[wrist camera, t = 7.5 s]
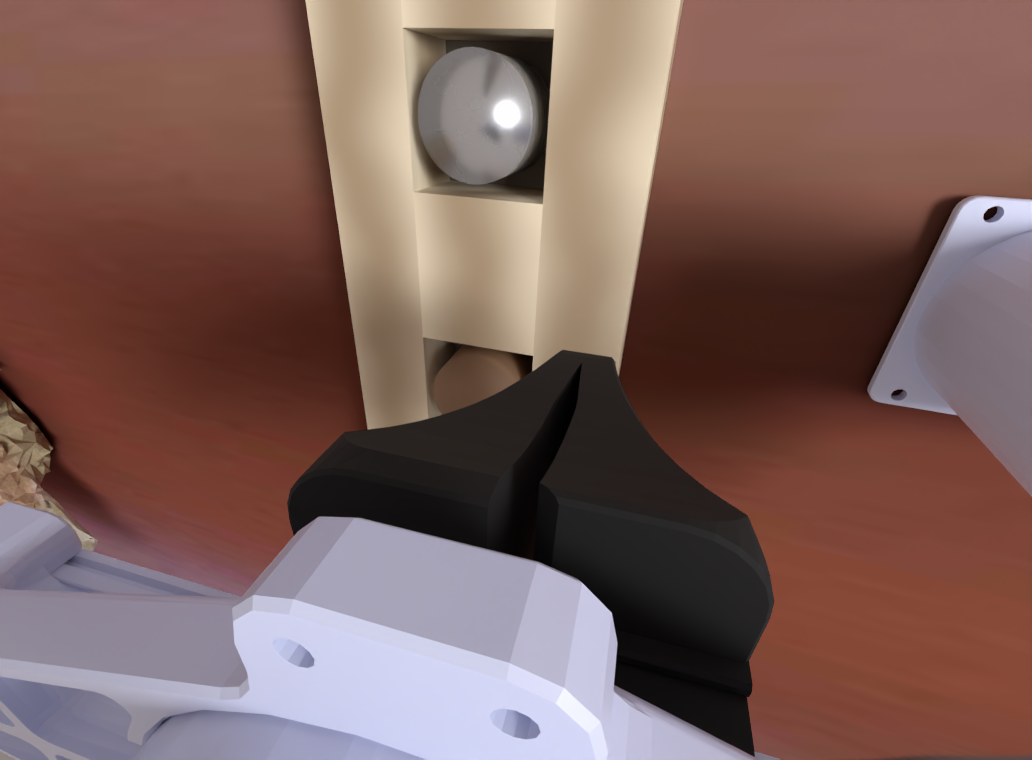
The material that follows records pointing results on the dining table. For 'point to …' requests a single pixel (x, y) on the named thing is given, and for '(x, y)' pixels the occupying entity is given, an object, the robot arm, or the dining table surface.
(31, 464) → the fish sculpture
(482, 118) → the grey peg
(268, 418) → the dining table surface
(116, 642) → the robot arm
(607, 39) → the board
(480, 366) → the walnut peg
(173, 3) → the dining table surface
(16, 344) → the dining table surface
